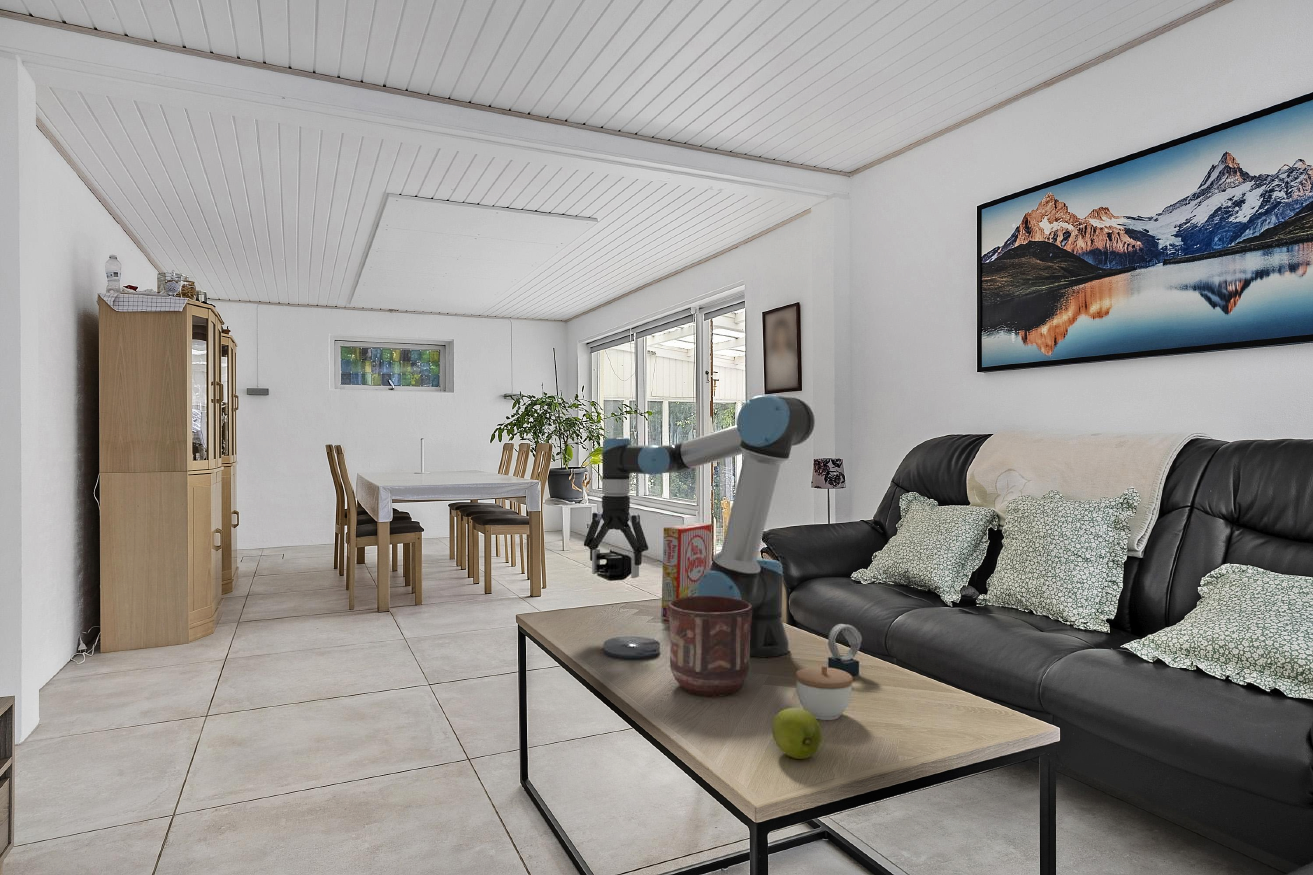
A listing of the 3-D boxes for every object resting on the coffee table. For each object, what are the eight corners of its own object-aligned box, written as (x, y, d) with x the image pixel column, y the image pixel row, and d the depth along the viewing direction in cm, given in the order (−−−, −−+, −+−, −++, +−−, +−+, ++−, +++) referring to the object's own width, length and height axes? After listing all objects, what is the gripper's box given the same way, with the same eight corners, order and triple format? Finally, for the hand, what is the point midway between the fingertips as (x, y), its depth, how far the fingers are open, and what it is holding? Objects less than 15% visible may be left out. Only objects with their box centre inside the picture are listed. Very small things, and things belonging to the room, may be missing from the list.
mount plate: (669, 649, 195) (669, 641, 195) (642, 662, 182) (642, 654, 182) (622, 641, 202) (622, 633, 202) (592, 654, 189) (592, 645, 189)
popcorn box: (678, 622, 224) (680, 528, 224) (660, 619, 227) (661, 527, 227) (710, 609, 241) (711, 522, 241) (692, 607, 244) (694, 521, 244)
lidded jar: (841, 728, 143) (842, 677, 143) (786, 716, 148) (787, 668, 148) (859, 711, 152) (860, 664, 152) (807, 701, 158) (808, 655, 158)
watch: (865, 673, 177) (866, 625, 177) (838, 678, 173) (839, 629, 173) (848, 667, 182) (849, 620, 182) (821, 671, 178) (822, 623, 178)
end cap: (634, 579, 205) (634, 553, 206) (609, 581, 202) (610, 555, 202) (619, 573, 214) (619, 549, 215) (595, 575, 211) (596, 550, 211)
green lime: (793, 771, 124) (794, 721, 124) (762, 750, 132) (762, 703, 132) (832, 763, 127) (833, 714, 127) (799, 743, 136) (800, 697, 136)
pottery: (706, 669, 178) (706, 591, 178) (767, 688, 165) (768, 603, 165) (650, 687, 166) (651, 603, 165) (712, 708, 153) (713, 617, 153)
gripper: (661, 495, 206) (661, 577, 206) (587, 492, 218) (586, 569, 218) (647, 497, 199) (646, 581, 199) (571, 493, 211) (570, 573, 211)
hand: (615, 575), depth 208 cm, fingers closed on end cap, 12 cm apart
